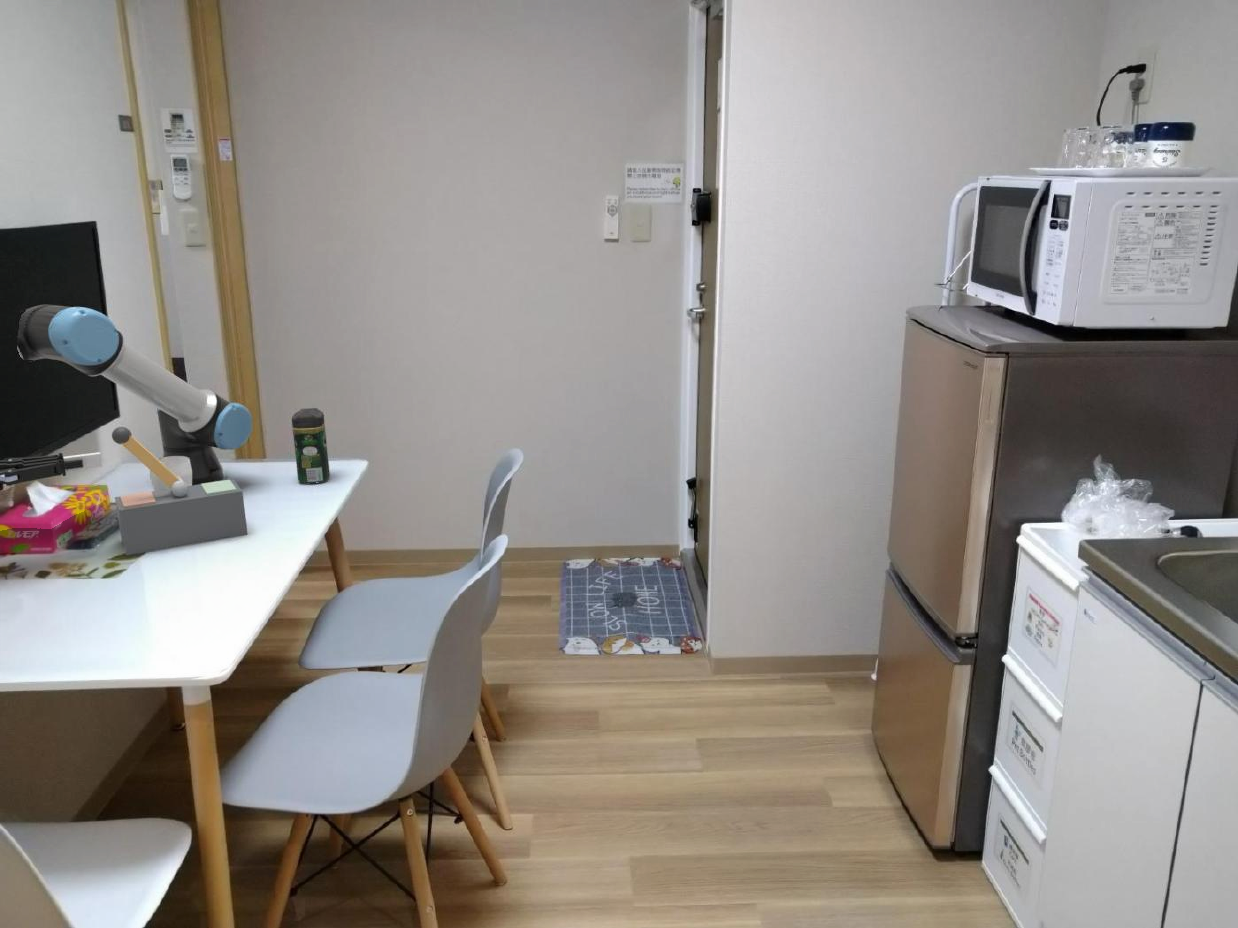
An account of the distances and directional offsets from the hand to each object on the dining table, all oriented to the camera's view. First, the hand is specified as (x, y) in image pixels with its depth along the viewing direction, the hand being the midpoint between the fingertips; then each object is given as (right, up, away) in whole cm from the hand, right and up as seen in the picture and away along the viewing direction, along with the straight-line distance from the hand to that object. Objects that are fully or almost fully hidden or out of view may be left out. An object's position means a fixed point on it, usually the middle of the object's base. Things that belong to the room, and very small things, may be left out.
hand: (100, 459), depth 194 cm
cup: (+1, -12, +30) cm, 33 cm away
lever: (+12, -7, +10) cm, 17 cm away
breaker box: (+11, -17, +13) cm, 24 cm away
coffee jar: (+27, -5, +53) cm, 60 cm away
